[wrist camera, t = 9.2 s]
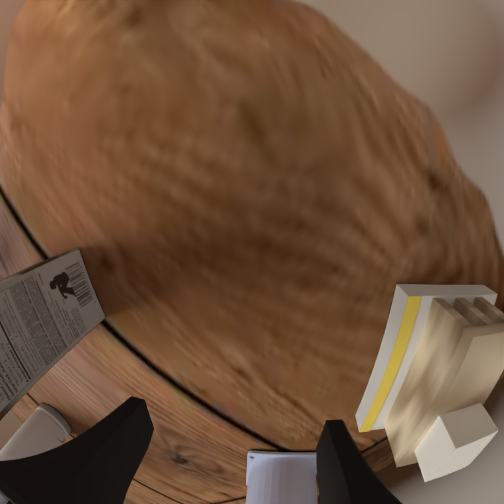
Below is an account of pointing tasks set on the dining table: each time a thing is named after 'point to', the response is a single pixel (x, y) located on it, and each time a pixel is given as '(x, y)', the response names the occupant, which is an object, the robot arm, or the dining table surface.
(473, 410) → the plain white block
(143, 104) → the dining table surface
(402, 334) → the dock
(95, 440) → the robot arm
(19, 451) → the travel mug
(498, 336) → the slotted cream block
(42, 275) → the coffee box
